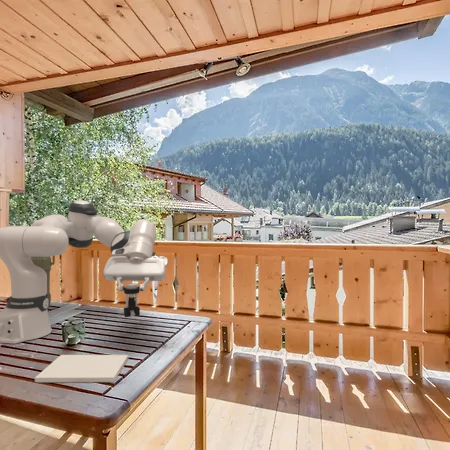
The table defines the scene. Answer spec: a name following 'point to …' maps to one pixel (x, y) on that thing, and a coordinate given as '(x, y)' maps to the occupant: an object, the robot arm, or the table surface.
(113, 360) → the board
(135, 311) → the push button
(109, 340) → the table surface
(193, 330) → the table surface
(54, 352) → the table surface
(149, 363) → the table surface
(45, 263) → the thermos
